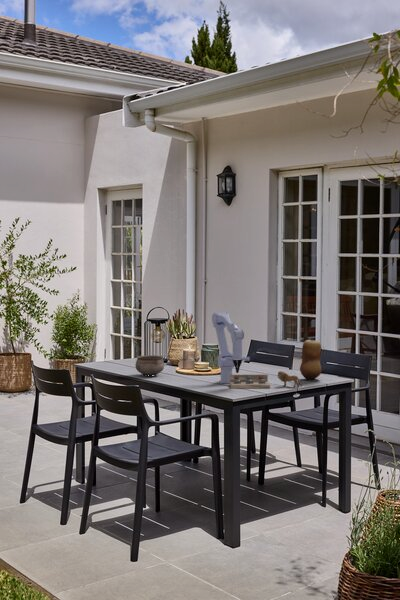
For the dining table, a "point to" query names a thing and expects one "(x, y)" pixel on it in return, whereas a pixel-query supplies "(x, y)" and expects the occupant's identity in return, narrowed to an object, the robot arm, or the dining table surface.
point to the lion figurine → (288, 378)
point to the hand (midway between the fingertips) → (237, 372)
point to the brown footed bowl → (149, 364)
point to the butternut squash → (311, 359)
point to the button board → (244, 379)
